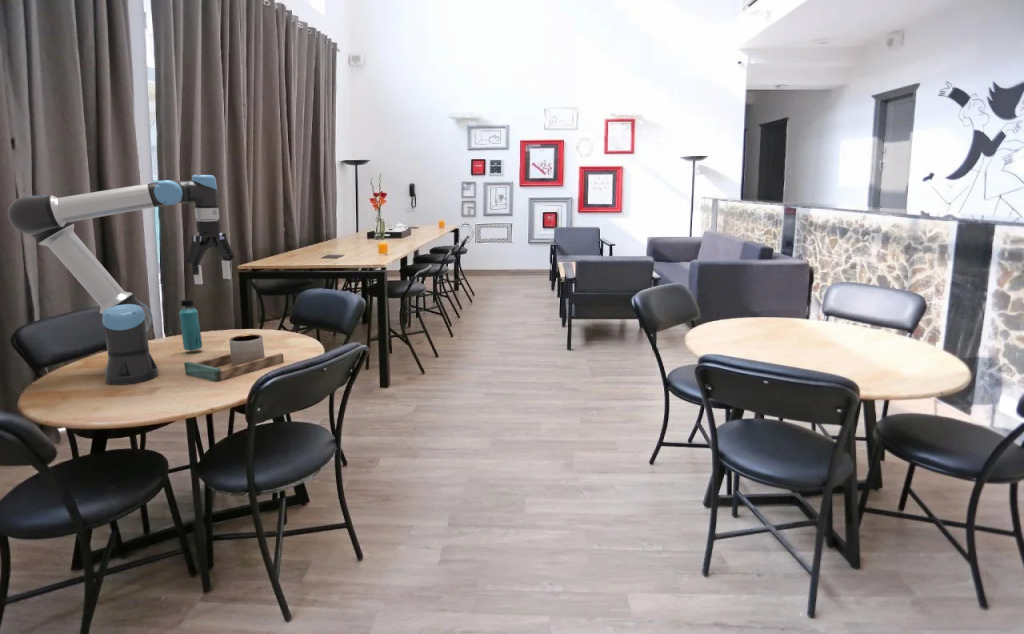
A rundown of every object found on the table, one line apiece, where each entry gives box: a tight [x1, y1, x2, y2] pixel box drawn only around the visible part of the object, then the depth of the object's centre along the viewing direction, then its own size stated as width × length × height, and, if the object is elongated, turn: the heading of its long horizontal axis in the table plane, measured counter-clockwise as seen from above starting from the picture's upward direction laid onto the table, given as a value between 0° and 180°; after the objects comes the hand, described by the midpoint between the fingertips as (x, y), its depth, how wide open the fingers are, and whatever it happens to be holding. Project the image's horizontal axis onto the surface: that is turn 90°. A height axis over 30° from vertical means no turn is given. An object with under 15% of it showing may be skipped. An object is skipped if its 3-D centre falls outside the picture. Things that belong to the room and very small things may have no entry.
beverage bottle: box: [178, 298, 203, 351], centre depth 244 cm, size 6×7×20 cm
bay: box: [183, 352, 285, 383], centre depth 224 cm, size 26×17×4 cm, turn 148°
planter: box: [228, 333, 266, 367], centre depth 227 cm, size 11×11×10 cm
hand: (213, 281), depth 231 cm, fingers open, 13 cm apart
